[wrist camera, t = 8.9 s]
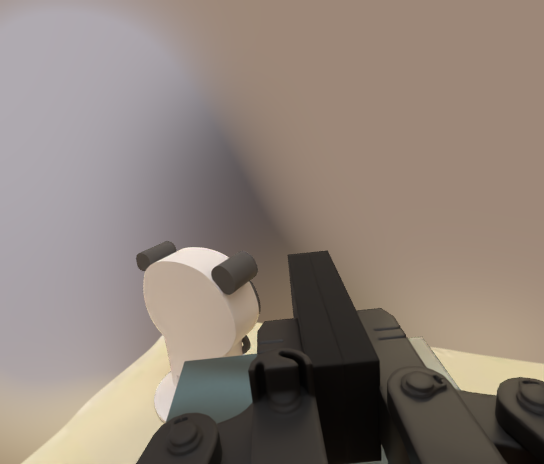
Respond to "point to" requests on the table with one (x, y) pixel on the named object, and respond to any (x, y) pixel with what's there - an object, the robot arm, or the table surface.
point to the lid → (245, 386)
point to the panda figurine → (198, 306)
